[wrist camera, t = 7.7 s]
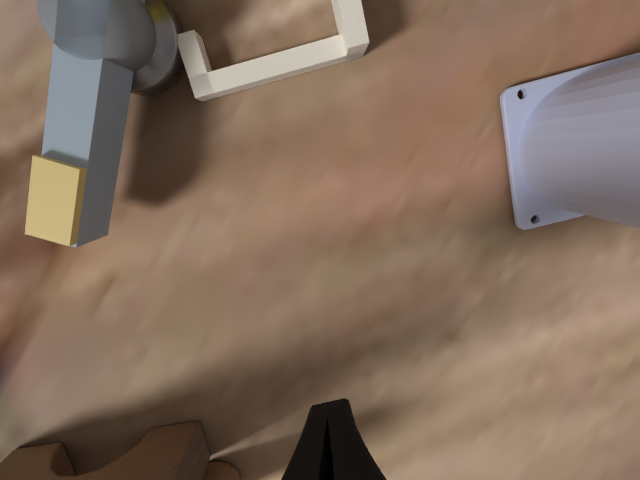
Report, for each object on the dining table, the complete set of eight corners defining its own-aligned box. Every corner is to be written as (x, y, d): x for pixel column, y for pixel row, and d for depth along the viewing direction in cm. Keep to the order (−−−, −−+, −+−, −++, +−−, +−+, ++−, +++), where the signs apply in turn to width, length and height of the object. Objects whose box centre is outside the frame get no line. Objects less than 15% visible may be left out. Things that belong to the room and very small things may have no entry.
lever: (200, -216, 14) (170, -312, 11) (122, 239, 19) (86, 255, 16) (112, -251, 14) (56, -358, 11) (55, 220, 19) (6, 232, 16)
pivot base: (167, -23, 18) (151, -41, 16) (200, 81, 19) (188, 74, 17) (75, 5, 18) (50, -9, 16) (113, 106, 19) (94, 101, 17)
